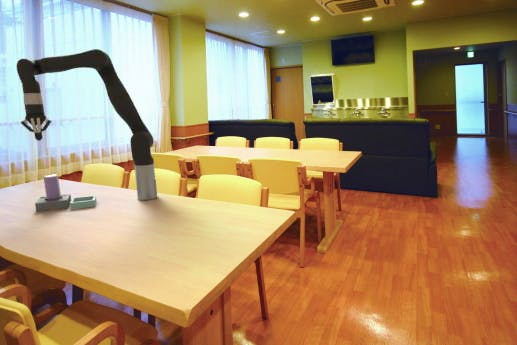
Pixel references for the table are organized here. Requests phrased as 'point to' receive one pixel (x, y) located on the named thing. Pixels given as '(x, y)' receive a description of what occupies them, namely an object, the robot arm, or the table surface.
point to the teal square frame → (83, 202)
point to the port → (53, 203)
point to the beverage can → (52, 187)
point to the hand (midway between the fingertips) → (39, 140)
